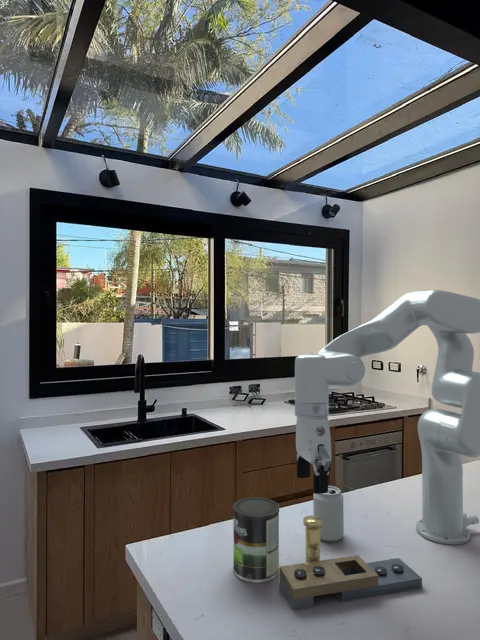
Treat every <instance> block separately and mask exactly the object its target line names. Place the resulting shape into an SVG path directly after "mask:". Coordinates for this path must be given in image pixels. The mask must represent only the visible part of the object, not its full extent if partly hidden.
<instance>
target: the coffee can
mask: <svg viewBox="0 0 480 640" xmlns="http://www.w3.org/2000/svg"><path fill="white" fill-rule="evenodd" d="M232 511H233V520H232V521H233V523H232V525H233V528H232V529H233V567H232V570H233V571H232V572H233V574H234V576H236V577H237V578H238V579H239V580H241V581H243V582H246V583H247V582H248V583H253V584H262V583H268V582H270V581H272V580H274V579H276V578H277V576H278V575H279V574H280V564H279V563H280V562H279V561H280V560H279V559H280V554H279V553H280V549H279V547H280V545H279V542H280V541H279V540H280V538H279V537H280V535H279V533H280V530H279V529H280V519H279V517H280V516H279V515H280V505H279V503H278V502H276V501H275V500H273V499H269V498H266V497H261V496H250V497H245V498H240V499H238V500H237V501H235V502H234V503H233V505H232Z"/></svg>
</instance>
